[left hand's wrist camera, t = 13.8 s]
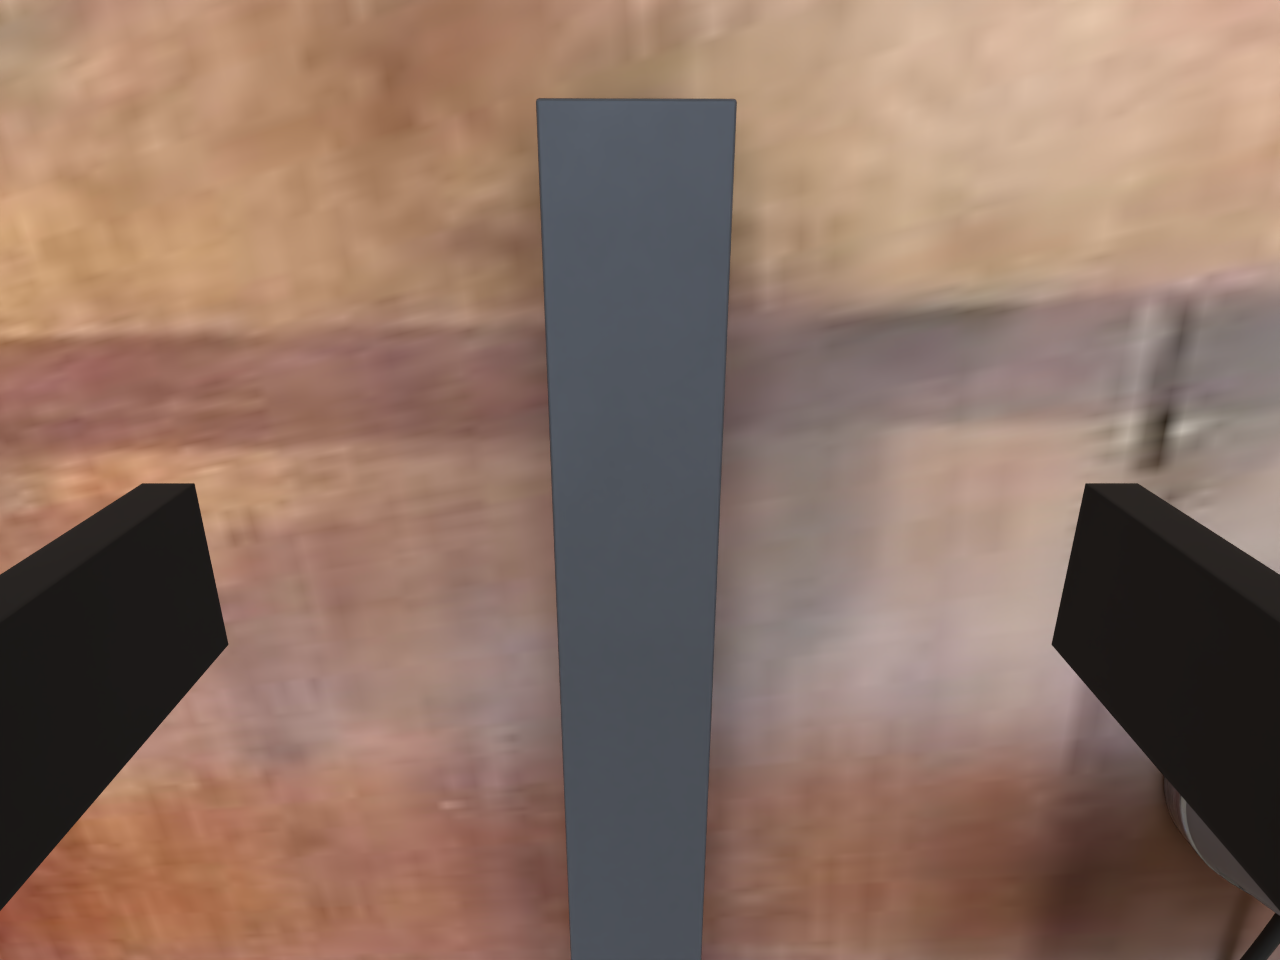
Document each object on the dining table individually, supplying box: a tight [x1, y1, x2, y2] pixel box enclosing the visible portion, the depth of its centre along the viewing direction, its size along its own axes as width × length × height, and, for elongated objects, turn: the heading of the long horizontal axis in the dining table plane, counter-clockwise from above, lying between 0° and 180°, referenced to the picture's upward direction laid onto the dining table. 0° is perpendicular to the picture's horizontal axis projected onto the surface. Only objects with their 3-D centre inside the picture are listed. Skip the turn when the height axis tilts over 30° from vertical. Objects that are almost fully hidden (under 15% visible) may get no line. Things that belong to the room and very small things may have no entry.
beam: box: [536, 98, 737, 960], centre depth 40 cm, size 74×6×7 cm, turn 0°
